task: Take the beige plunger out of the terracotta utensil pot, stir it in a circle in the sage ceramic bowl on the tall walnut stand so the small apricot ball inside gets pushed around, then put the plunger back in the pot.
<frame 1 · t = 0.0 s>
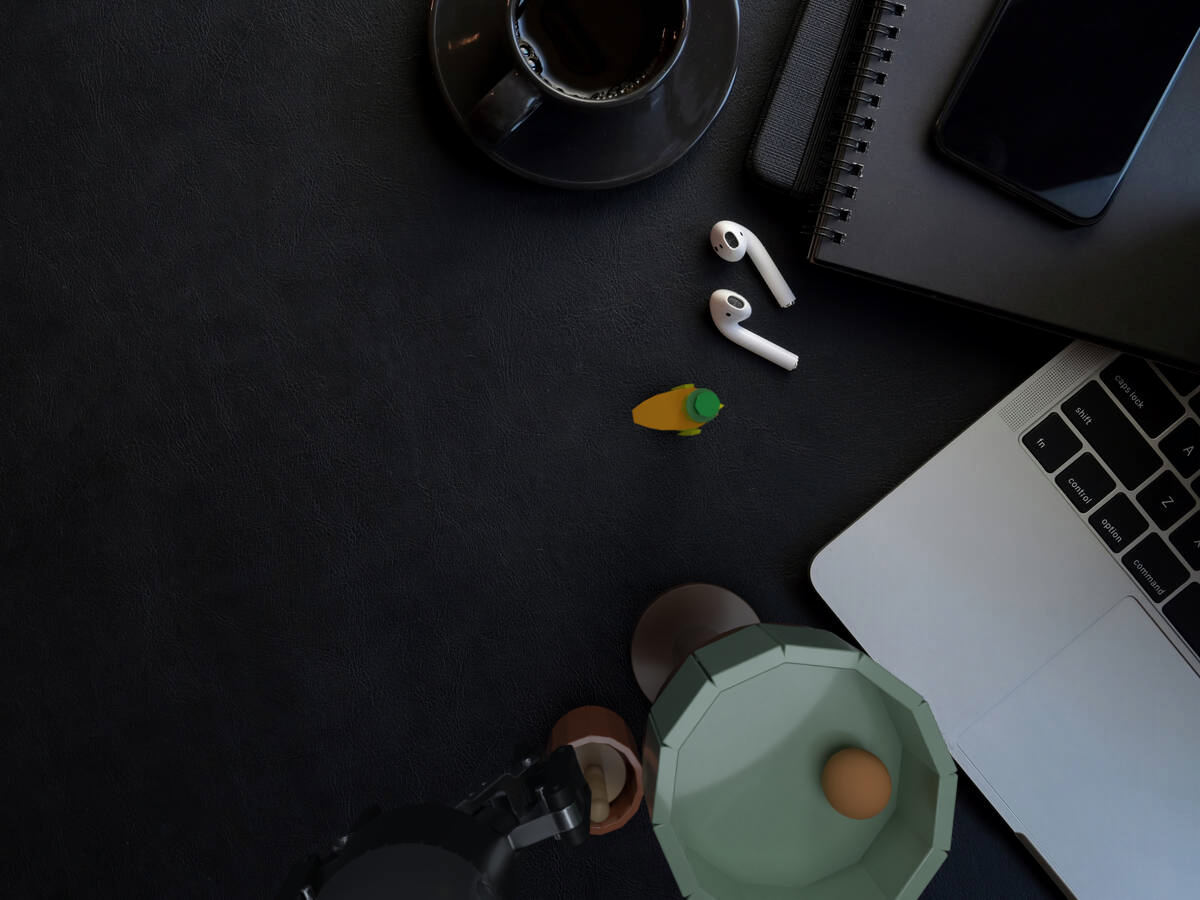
hand: (455, 790, 49), 18 cm above the table, tool pointing down, fingers open, 8 cm apart
ball: (856, 783, 41), point 27 cm above the table, touching bowl
holder: (590, 749, 68), on the table
toy figure: (668, 414, 69), on the table
beige plunger: (591, 751, 68), resting on holder
stand: (697, 649, 69), on the table
bowl: (777, 760, 44), resting on stand
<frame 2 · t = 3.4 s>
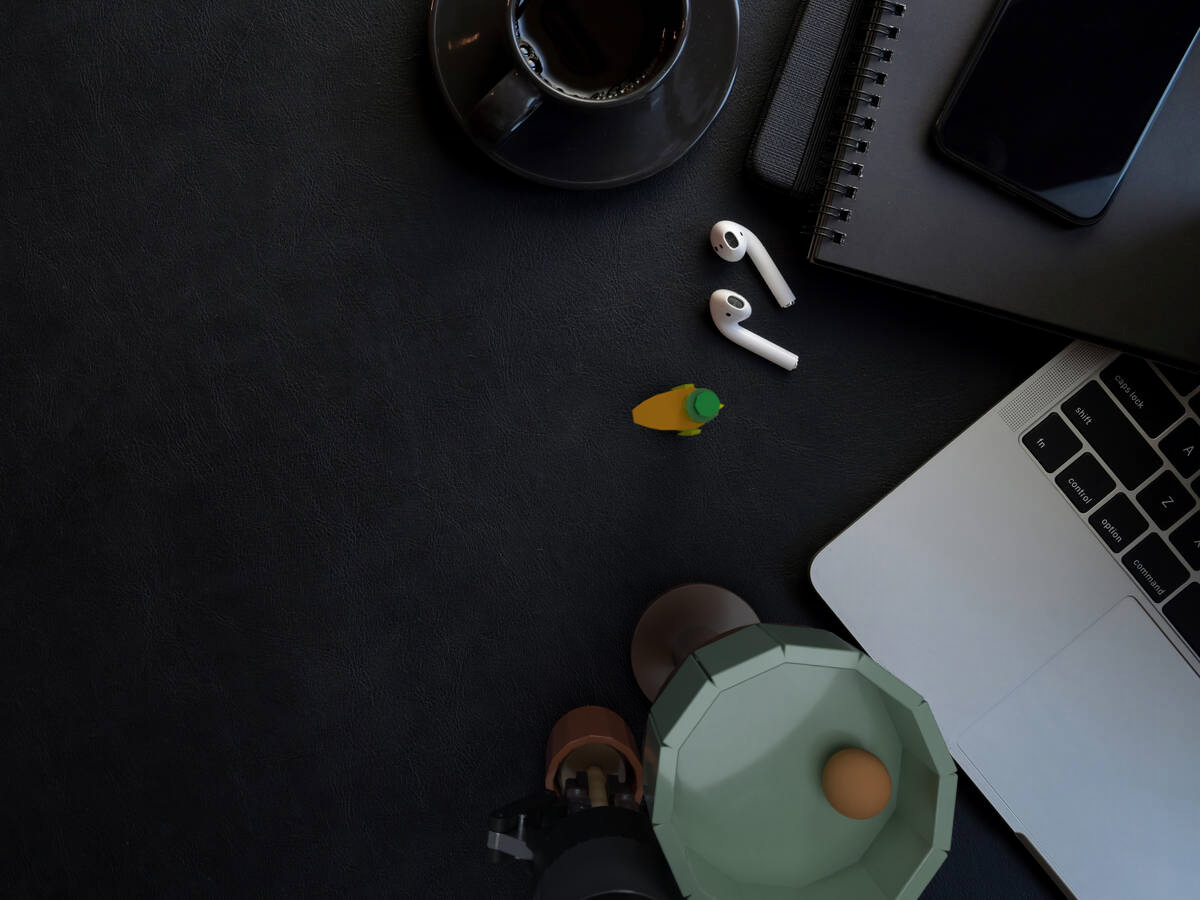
hand: (595, 788, 60), 8 cm above the table, tool pointing down, fingers closed on beige plunger
beige plunger: (590, 751, 68), point 1 cm above the table, touching gripper
everything else where it was.
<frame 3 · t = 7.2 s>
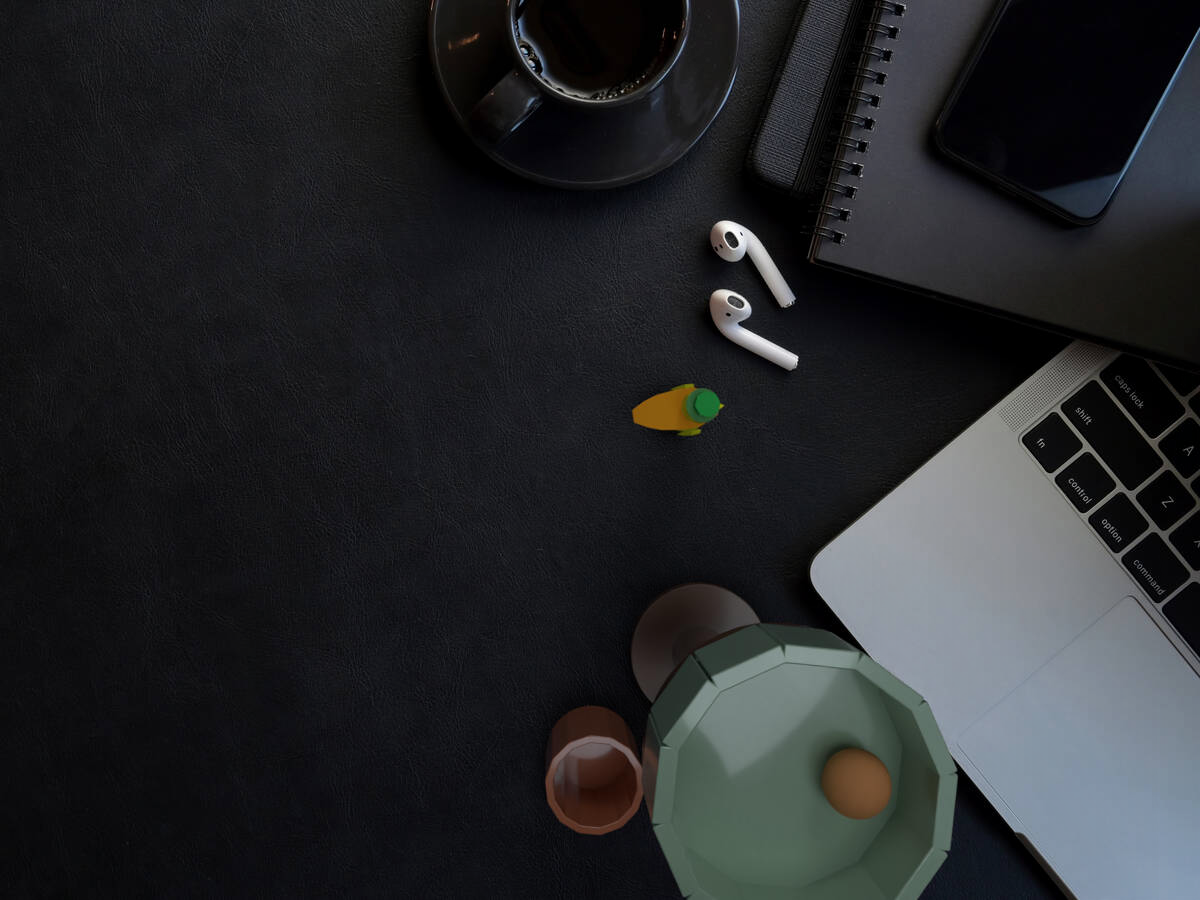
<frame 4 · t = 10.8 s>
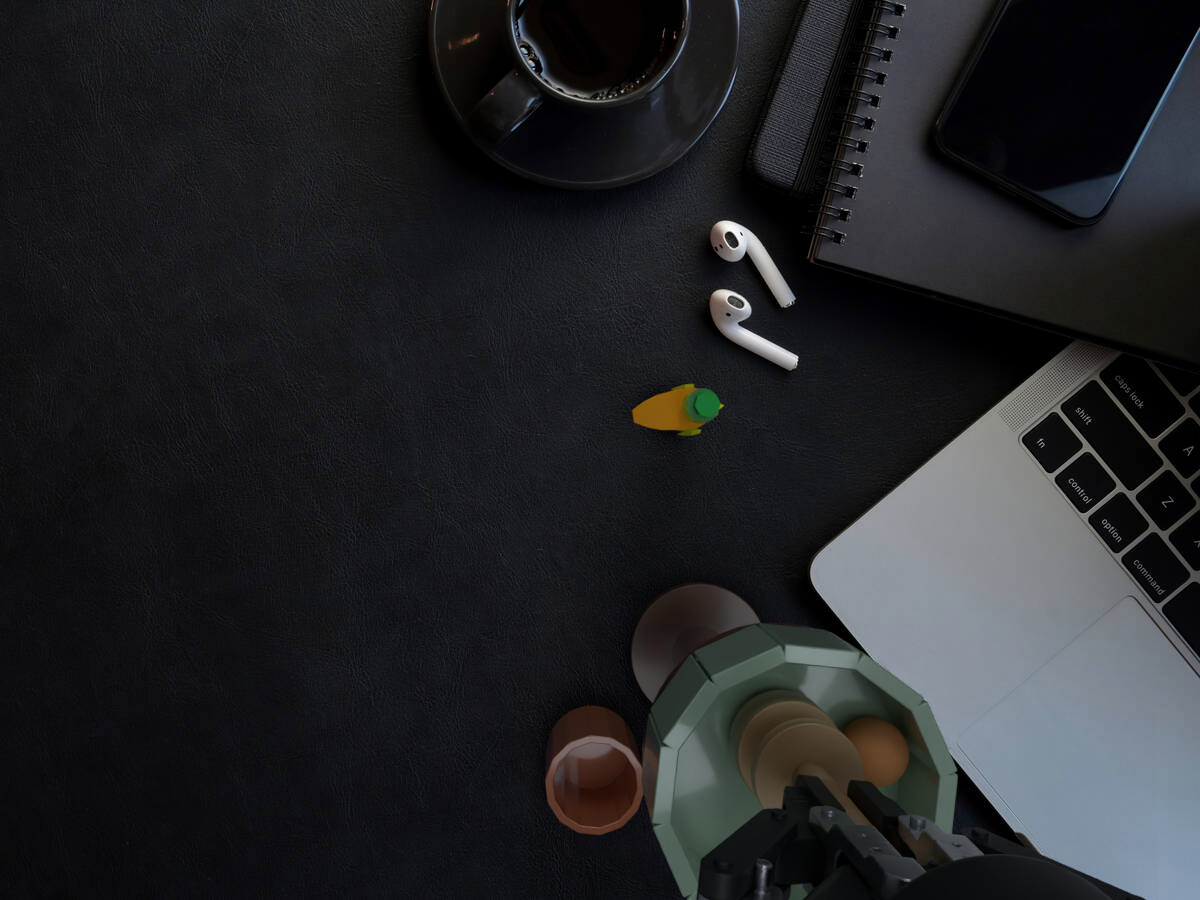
hand: (829, 804, 34), 34 cm above the table, tool pointing down, fingers closed on beige plunger
ball: (873, 751, 42), point 27 cm above the table, tilted 45°, touching bowl
beige plunger: (779, 740, 42), point 27 cm above the table, touching gripper
everything else where it was.
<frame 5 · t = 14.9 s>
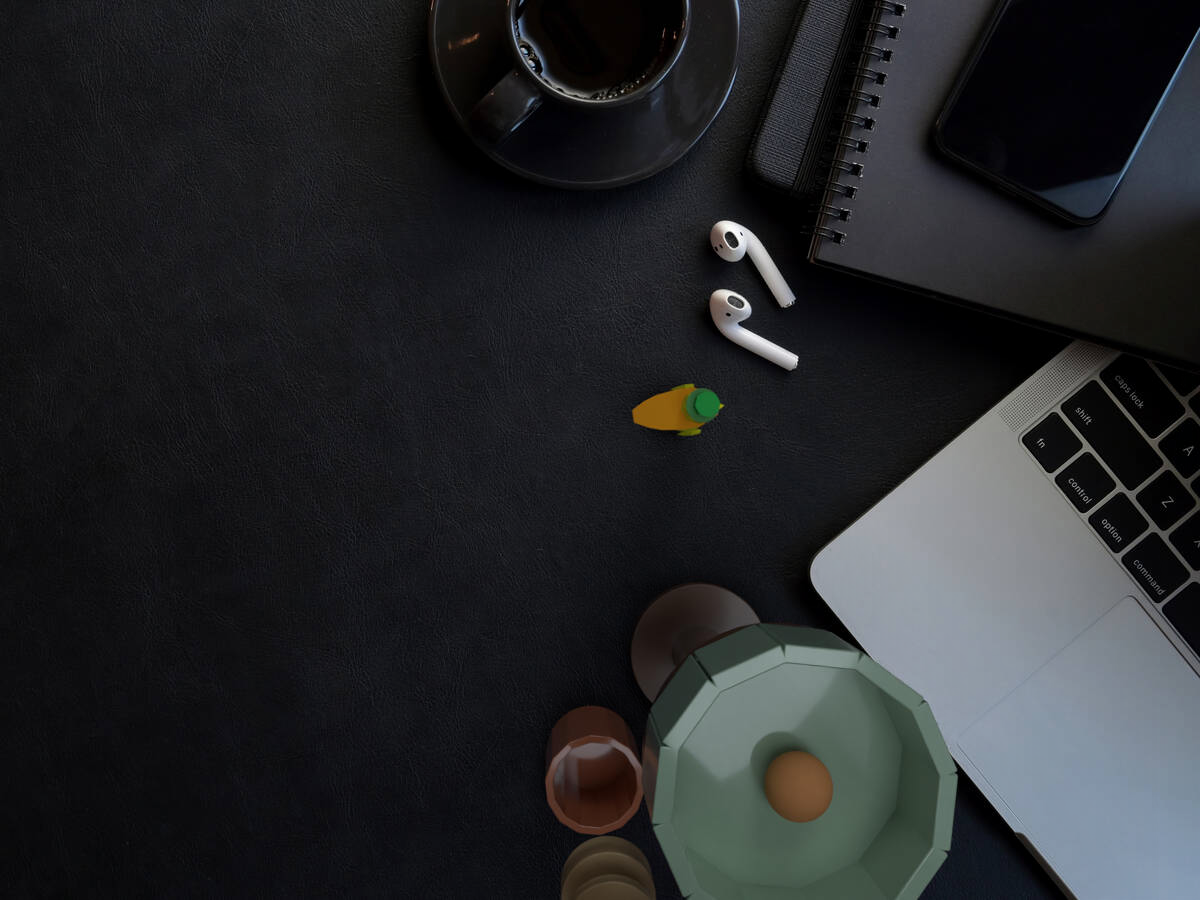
ball: (798, 786, 41), point 27 cm above the table, tilted 119°, touching bowl
beige plunger: (606, 880, 47), point 21 cm above the table, touching gripper
everything else where it was.
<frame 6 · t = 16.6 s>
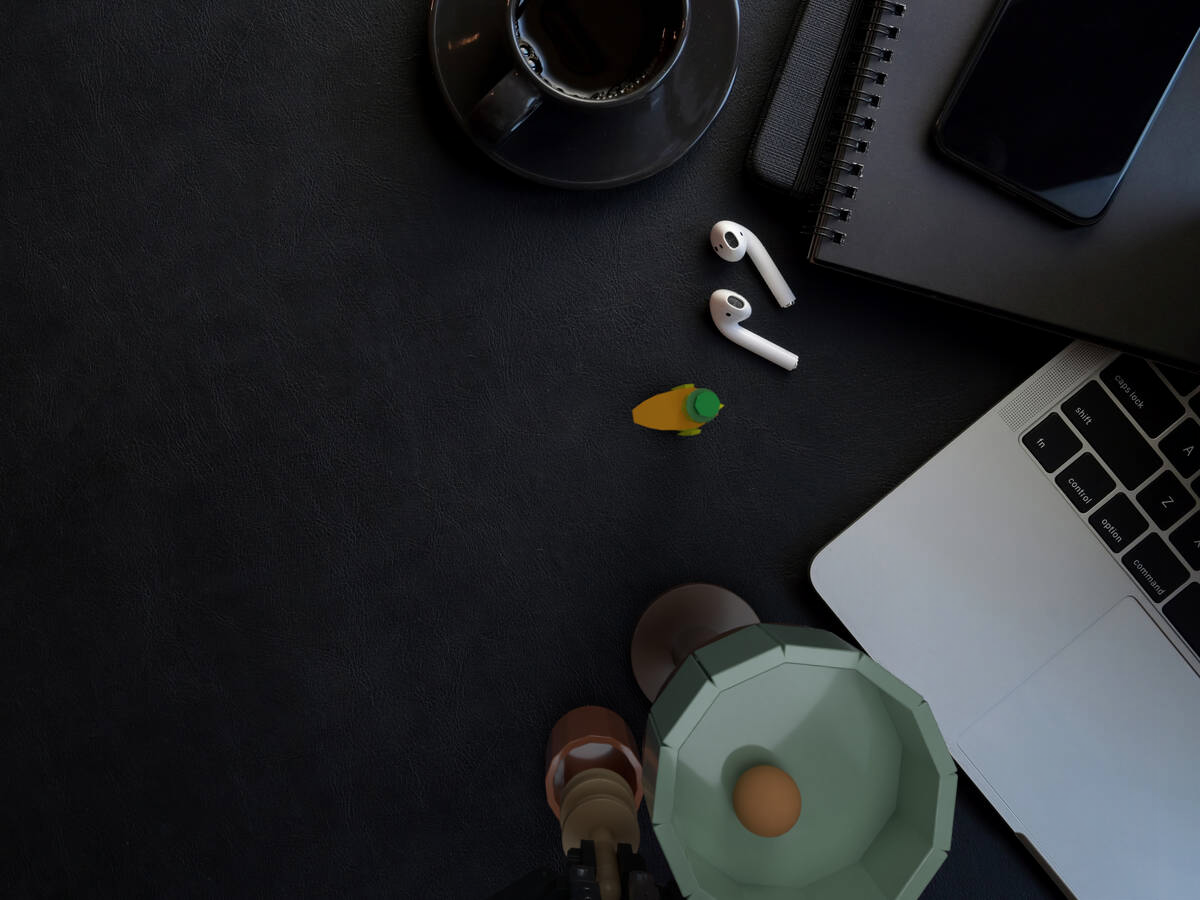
hand: (604, 859, 50), 19 cm above the table, tool pointing down, fingers closed on beige plunger
ball: (766, 800, 41), point 27 cm above the table, tilted 135°, touching bowl
beige plunger: (597, 805, 57), point 11 cm above the table, touching gripper
everything else where it was.
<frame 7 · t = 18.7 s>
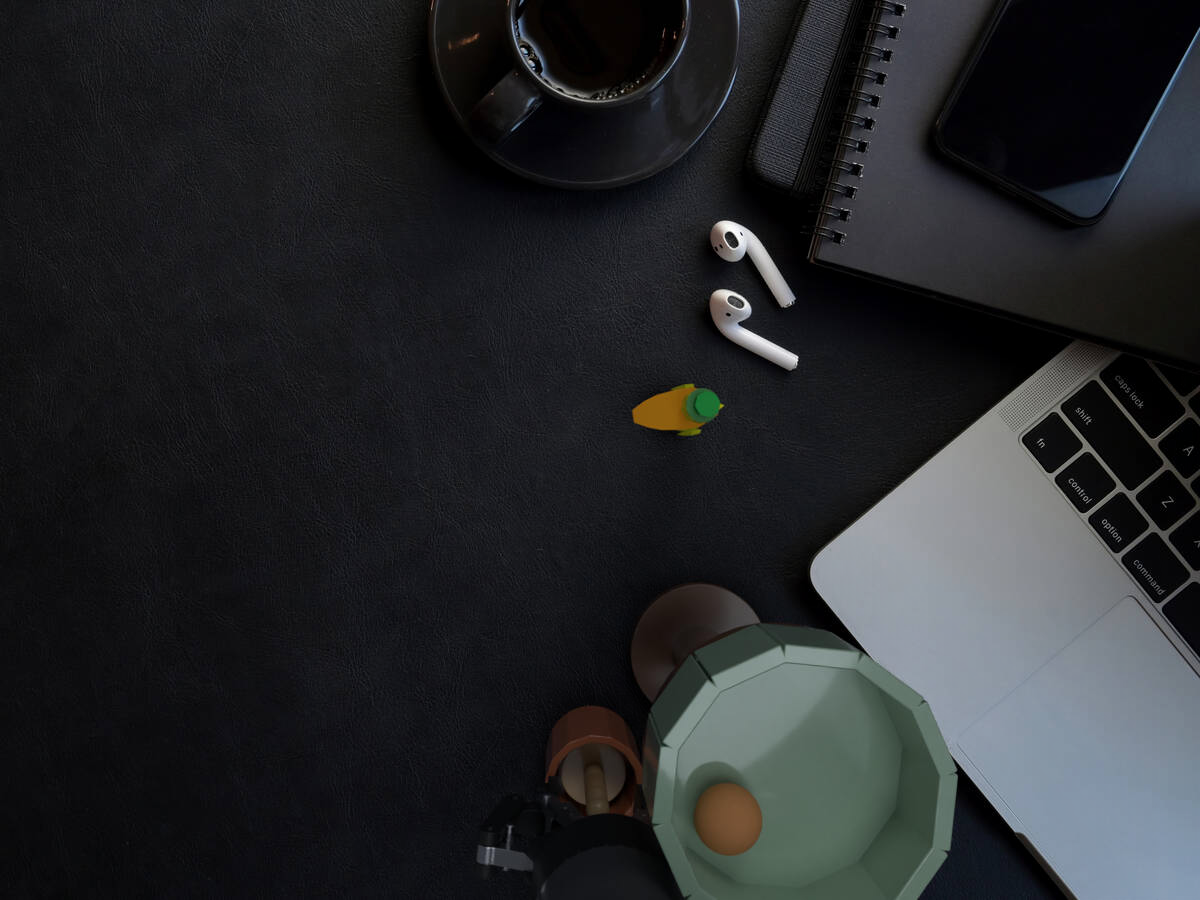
hand: (596, 795, 59), 9 cm above the table, tool pointing down, fingers open, 5 cm apart
ball: (727, 818, 41), point 27 cm above the table, tilted 95°, touching bowl
beige plunger: (590, 750, 68), point 1 cm above the table, touching holder
everything else where it was.
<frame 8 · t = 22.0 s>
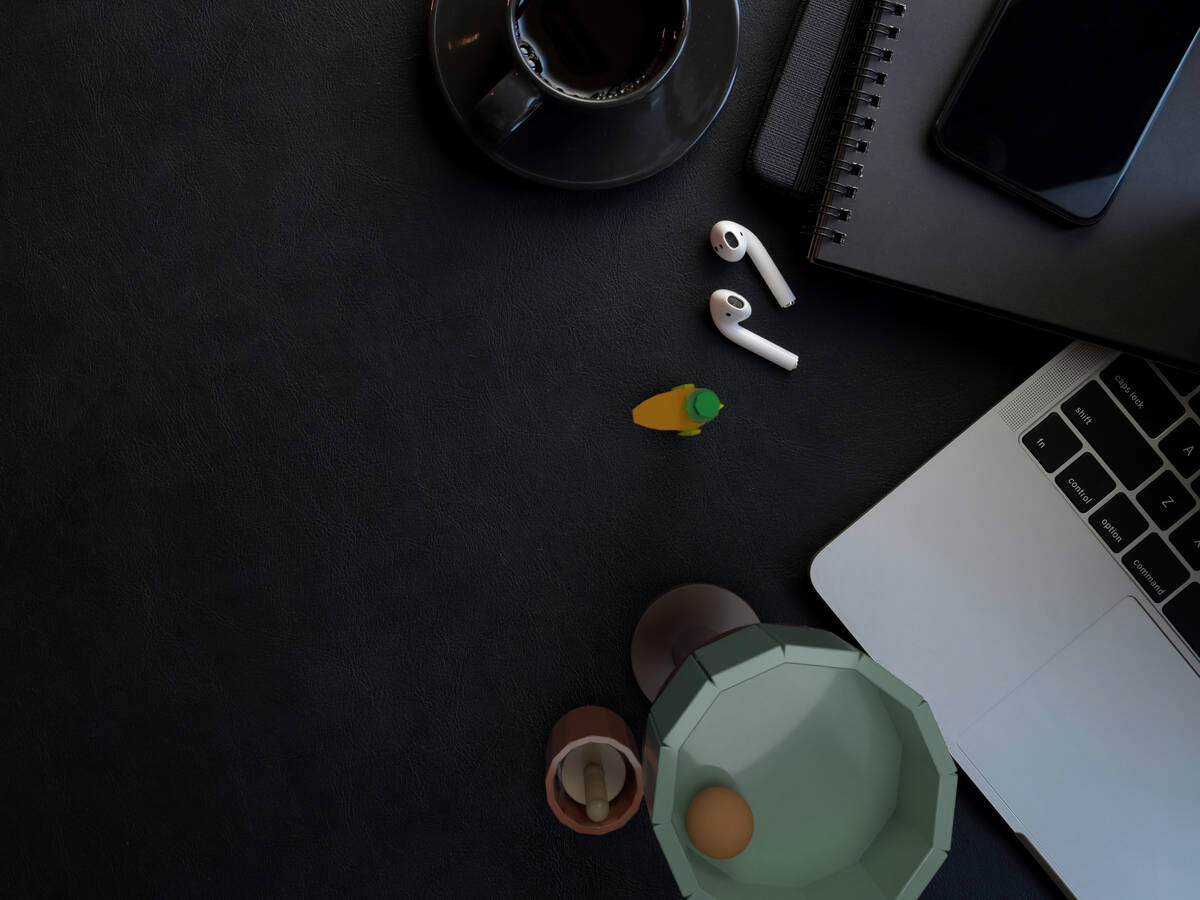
ball: (719, 822, 41), point 27 cm above the table, tilted 84°, touching bowl
everything else where it was.
at the end: ball moved 6.3 cm from its start; ball inside the target area on the bowl (3.7 cm from its centre), point 2.3 cm above the bowl's base; beige plunger 0.1 cm off-centre in the holder, point 0.5 cm above the holder's base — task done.
